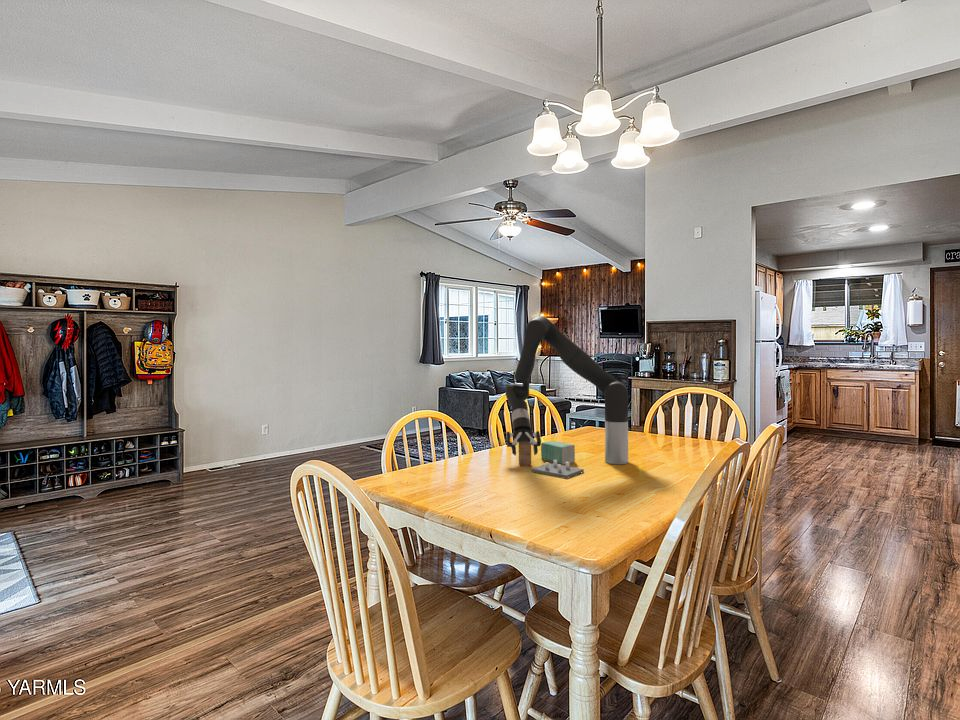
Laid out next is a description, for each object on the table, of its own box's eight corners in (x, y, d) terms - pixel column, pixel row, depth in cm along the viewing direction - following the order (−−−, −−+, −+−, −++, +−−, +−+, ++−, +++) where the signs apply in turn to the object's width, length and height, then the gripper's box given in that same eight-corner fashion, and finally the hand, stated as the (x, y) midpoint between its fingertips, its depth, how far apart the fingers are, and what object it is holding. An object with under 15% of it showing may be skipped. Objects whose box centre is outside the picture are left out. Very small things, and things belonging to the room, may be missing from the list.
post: (518, 463, 223) (518, 442, 223) (529, 463, 224) (529, 441, 223) (520, 466, 219) (520, 444, 219) (531, 465, 219) (531, 443, 219)
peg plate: (548, 466, 218) (548, 457, 218) (583, 472, 208) (583, 462, 208) (531, 471, 209) (531, 462, 209) (566, 478, 199) (566, 468, 199)
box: (553, 456, 236) (553, 439, 236) (575, 462, 225) (575, 444, 224) (540, 459, 232) (540, 441, 231) (562, 465, 221) (562, 447, 220)
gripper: (505, 416, 227) (508, 449, 216) (538, 416, 228) (543, 448, 217) (503, 427, 233) (507, 459, 222) (536, 426, 234) (541, 458, 223)
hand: (525, 454), depth 220 cm, fingers open, 8 cm apart
